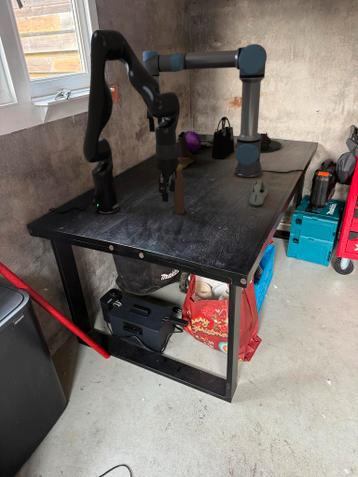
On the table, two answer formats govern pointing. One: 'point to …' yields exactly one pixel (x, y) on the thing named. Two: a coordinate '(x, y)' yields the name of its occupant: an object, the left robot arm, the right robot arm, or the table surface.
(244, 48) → the right robot arm
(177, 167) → the cap
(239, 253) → the table surface
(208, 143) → the pair of gloves
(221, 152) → the handbag
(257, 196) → the ballet flat
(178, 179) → the bottle
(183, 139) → the boot
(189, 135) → the decorative orb
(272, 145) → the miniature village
